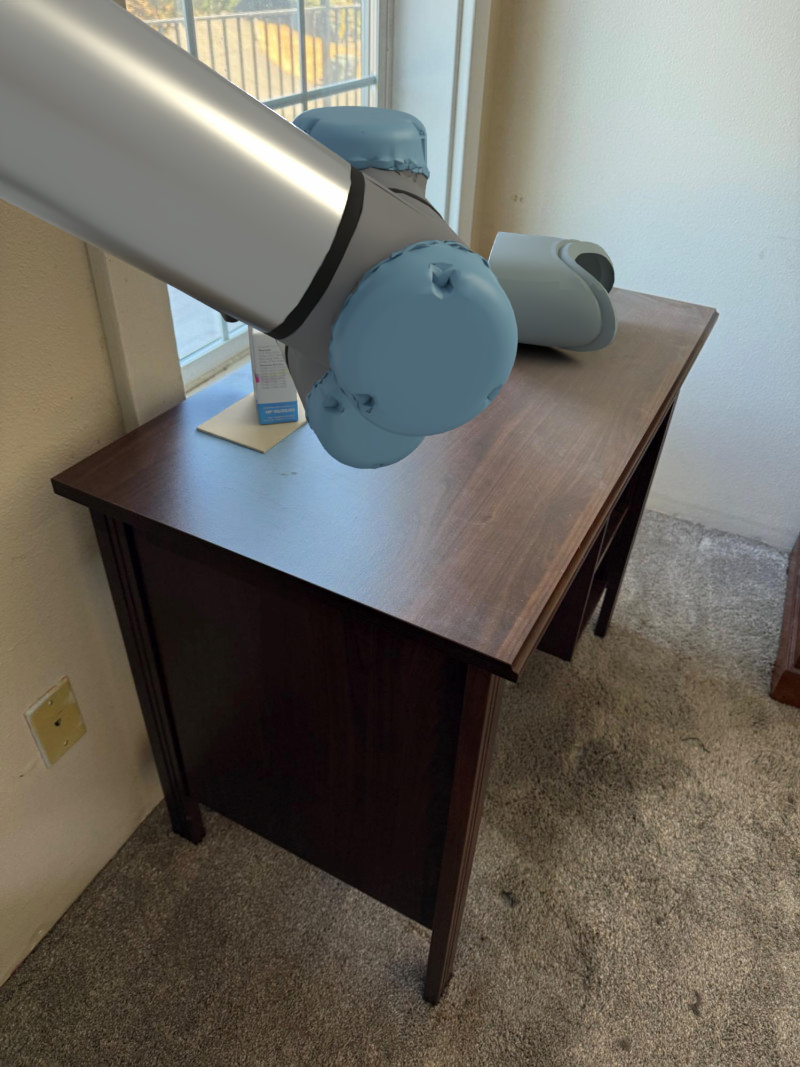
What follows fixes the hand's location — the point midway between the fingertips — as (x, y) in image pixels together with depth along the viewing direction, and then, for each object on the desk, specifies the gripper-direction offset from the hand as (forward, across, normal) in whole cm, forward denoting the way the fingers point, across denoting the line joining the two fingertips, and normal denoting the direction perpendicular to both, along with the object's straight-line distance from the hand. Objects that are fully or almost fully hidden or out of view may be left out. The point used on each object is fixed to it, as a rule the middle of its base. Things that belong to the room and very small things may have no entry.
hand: (275, 238), depth 72 cm
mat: (+10, 0, -24) cm, 26 cm away
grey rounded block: (+24, +45, -24) cm, 56 cm away
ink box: (+10, 0, -24) cm, 26 cm away
